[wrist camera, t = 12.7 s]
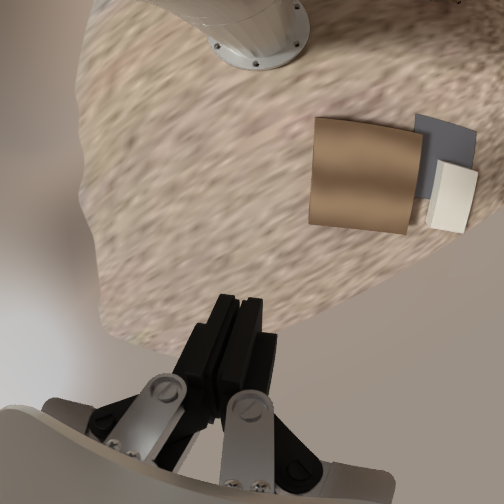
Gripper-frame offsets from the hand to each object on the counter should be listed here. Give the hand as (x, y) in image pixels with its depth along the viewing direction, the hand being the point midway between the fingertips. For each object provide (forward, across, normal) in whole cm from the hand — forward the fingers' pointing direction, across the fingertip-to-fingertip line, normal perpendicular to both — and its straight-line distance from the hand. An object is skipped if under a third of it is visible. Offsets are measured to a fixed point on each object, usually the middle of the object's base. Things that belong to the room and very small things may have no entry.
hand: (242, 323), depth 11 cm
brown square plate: (+27, -10, -1) cm, 29 cm away
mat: (+27, -21, -4) cm, 35 cm away
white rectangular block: (+25, -23, 0) cm, 34 cm away
